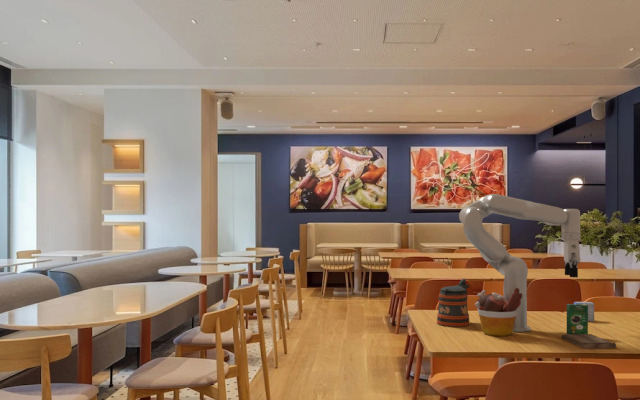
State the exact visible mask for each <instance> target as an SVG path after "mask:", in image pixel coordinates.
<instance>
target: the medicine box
mask: <svg viewBox="0 0 640 400" xmlns="http://www.w3.org/2000/svg"><path fill="white" fill-rule="evenodd" d="M573 304H585V305H588V322H595V303H593V302H591V301H574V302H573Z"/></svg>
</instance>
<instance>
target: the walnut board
mask: <svg viewBox="0 0 640 400" xmlns="http://www.w3.org/2000/svg"><path fill="white" fill-rule="evenodd" d="M561 339H562V340H564V341H566V342H568V343H571V344H573V345H576V346H577V347H580V348H582V349H590V350H591V349H595V350H596V349H617V343H616V342H615V341H614V342H612V341H609V340H608V339H607V340H606V339H604V338H601V337H600V336H597V335H594V334H591V333H588V334H567V333H566V334H561Z"/></svg>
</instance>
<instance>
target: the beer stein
mask: <svg viewBox="0 0 640 400" xmlns="http://www.w3.org/2000/svg"><path fill="white" fill-rule="evenodd" d="M469 288H470V285H469V284H467V282H466V278H462V279H461V280H459V283H458V284H457V285H454V286H452V285H449V286H444V287H442V288H440V292H439V294H438V313H437V315H436V323H437V324H438V325H439V326H443V327H444V326H445V327H456V328H457V327H458V328H460V327H467V326H469V325H470V313H469V311H468V289H469Z"/></svg>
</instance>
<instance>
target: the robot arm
mask: <svg viewBox="0 0 640 400" xmlns="http://www.w3.org/2000/svg"><path fill="white" fill-rule="evenodd" d="M458 214H459V215H458V218H459V219H458V220H459V222H460V223H462V225H463V226H462V227H463V231H464V235H465V238H466V239H467V241H468V242H470V244H471V245H472V246H474V247H475V248H476V249H477V250H478V251H479V254H480V256H481V258H482V259H483V260H484V261H485V262H487V263H488V264H489V265H490V266H492V268H493V269H494V270H496V271H497V272H499V273H500V274H501V275H502V276H504V278H503V288H502V289H503V297H505V299H506V300H507V301H509V299H510V297H511V295H512V294H513V293H514V290H515V289H516V288H519V290H520V291H519V293H522V295H523V296H522V298H521V300H520V301H521V304H520V306H519V307H518V308H517V309H516V310H517V314H516V318H515V323H514V328H513V332H514V333H525V332H531V331H532V328H531V327H530V326H528V311H527V310H528V309H527V307H528V306H527V303H528V302H527V301H528V300H527V299H528V298H527V284H528V283H527V282H528V281H527V280H528V273H529V271H528V270H529V269H528V265H527V263H526V262H525V260H524V259H522V258H521V257H517V256H513V255H512V254H510V252H508V251H507V248H506V247H505V245H504V244H503V243H501V242H500V241H499V240H497V239H496V238H495V237H494V236H493V235H492V234H490V232H488V231H487V230H486V229H485V227H484V225H483V219H485V218H487V217H488V216H490V215H492V214H496V215H501V216H505V217H509V218H514V219H518V220H525V221H528V220H529V221H538V222H541V223H544V224H546V225H548V226H560V227H561V228H560V229H561V241H563V261H564V275H565V276H569V277H570V278H579V269H578V268H579V267H578V266H579V265H578V264H580V263H581V253H580V241H581V212H580V210H579V209H578V208H561V207H558V206H553V205H549V204H544V203H538V202H534V201H531V200H526V199H521V198H515V197H512V196H507V195H503V194H498V193H491V194H486V195H484V196H483V197H481V198H480V199H478V200H476V201H475V202H472V203H471V204H468V205H467V206H465V207H464V208H462V209H461V210H460V212H459V213H458ZM513 332H512V333H513Z"/></svg>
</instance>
